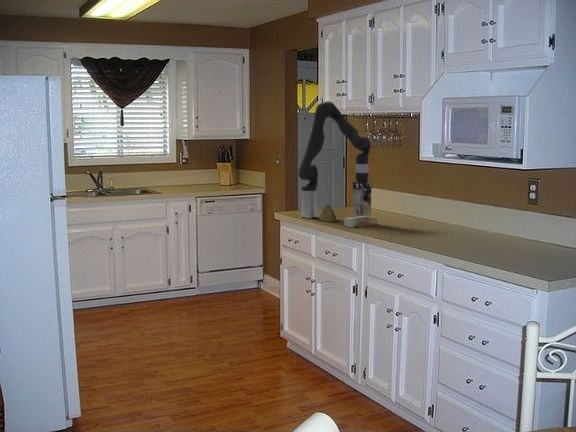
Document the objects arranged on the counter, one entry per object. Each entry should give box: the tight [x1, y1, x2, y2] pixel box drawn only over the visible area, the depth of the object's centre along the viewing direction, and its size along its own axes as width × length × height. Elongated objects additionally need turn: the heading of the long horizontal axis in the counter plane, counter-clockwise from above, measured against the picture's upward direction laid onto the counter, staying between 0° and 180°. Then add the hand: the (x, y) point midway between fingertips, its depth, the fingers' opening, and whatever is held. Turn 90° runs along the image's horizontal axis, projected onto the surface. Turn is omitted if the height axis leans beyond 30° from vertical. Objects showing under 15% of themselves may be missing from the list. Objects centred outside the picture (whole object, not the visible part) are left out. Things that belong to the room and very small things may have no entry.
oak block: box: [352, 215, 378, 227], centre depth 390 cm, size 12×12×4 cm
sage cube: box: [343, 216, 358, 228], centre depth 382 cm, size 5×5×5 cm
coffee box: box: [352, 187, 372, 217], centre depth 388 cm, size 9×6×16 cm
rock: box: [318, 204, 337, 222], centre depth 403 cm, size 11×9×10 cm
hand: (362, 200), depth 388 cm, fingers closed on coffee box, 6 cm apart
